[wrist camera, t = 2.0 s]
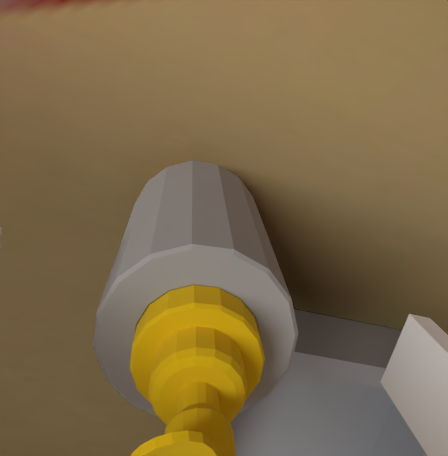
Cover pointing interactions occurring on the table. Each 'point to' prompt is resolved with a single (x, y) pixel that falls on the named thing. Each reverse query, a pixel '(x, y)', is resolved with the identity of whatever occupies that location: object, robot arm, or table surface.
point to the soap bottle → (195, 310)
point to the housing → (330, 397)
